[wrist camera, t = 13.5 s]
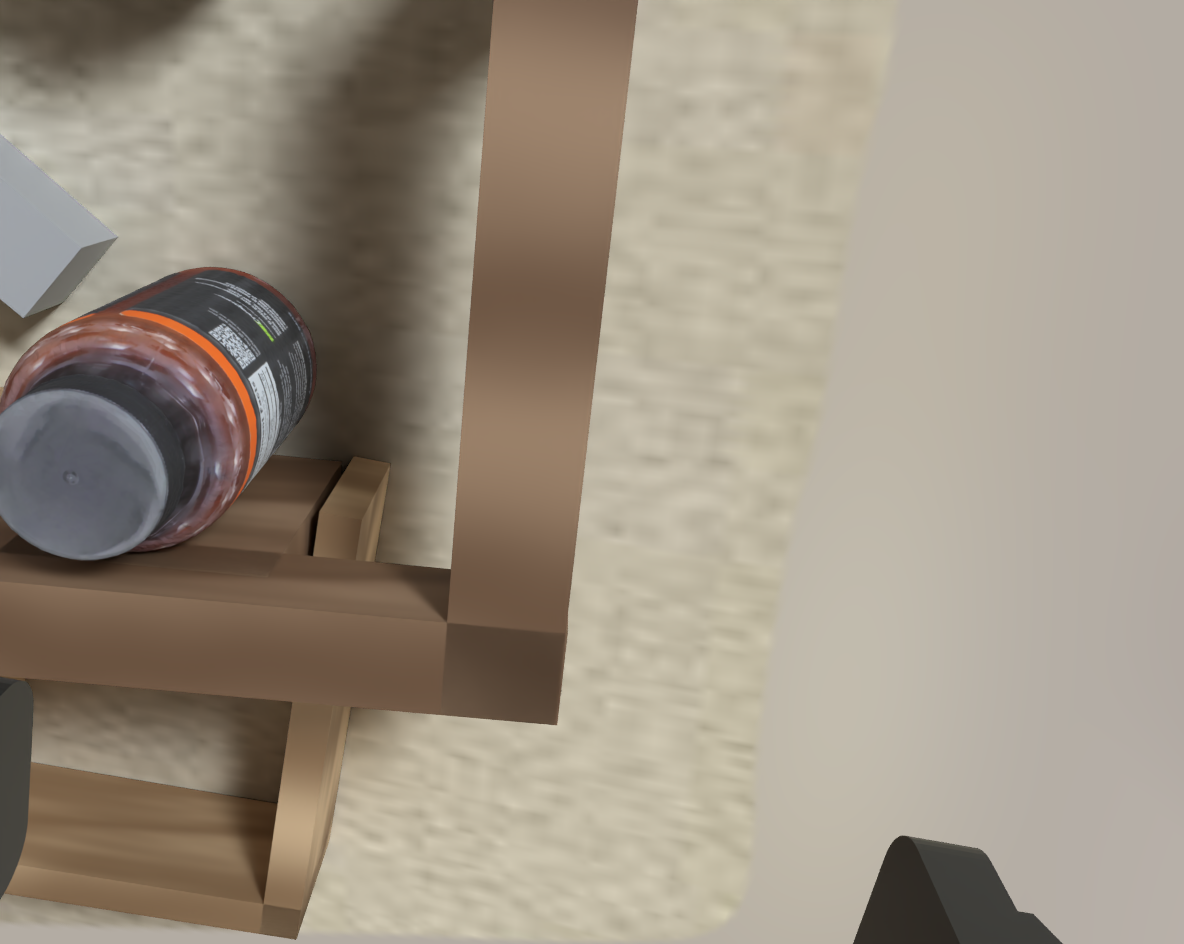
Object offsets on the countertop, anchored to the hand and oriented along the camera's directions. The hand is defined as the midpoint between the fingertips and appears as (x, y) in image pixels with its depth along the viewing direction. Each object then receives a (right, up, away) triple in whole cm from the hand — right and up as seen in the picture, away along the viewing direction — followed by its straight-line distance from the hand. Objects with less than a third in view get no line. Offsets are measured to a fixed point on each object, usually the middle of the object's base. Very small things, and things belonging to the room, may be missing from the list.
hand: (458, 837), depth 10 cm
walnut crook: (-6, +11, +22) cm, 26 cm away
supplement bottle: (-10, +7, +24) cm, 27 cm away
